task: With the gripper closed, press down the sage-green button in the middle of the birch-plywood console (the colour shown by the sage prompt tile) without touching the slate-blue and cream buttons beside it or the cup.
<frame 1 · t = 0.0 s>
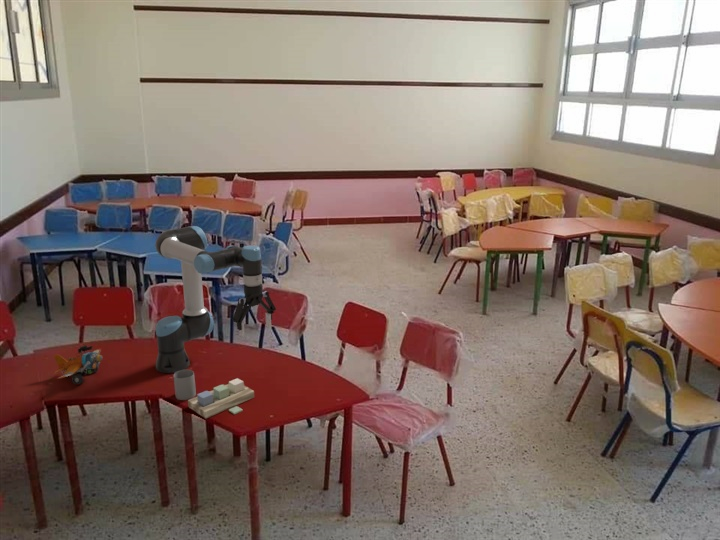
hand: (255, 332, 242), 28 cm above the table, fingers open, 13 cm apart
prompt tile: (235, 410, 235), on the table
toy airplane: (80, 378, 262), on the table
cup: (185, 395, 248), on the table
console: (221, 402, 242), on the table
button cream: (236, 386, 246), point 4 cm above the table, slide at 0.0 cm
button sage: (221, 392, 241), point 4 cm above the table, slide at 0.0 cm
button blue: (205, 399, 236), point 4 cm above the table, slide at 0.0 cm
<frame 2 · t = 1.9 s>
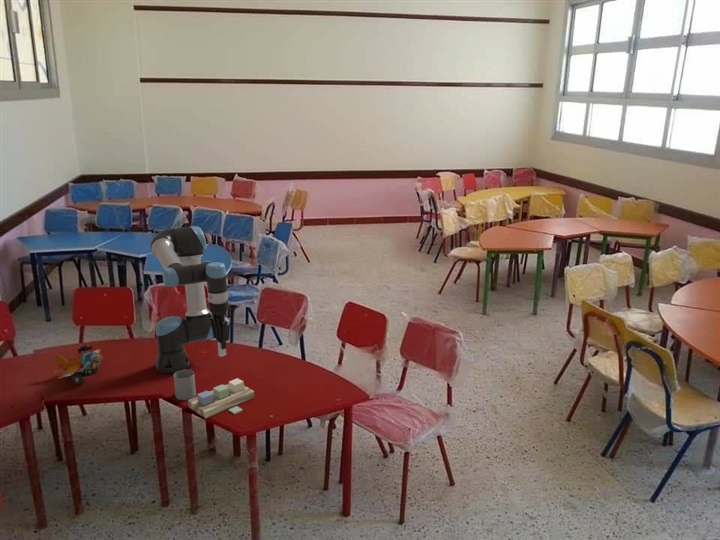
hand: (222, 355, 239), 20 cm above the table, fingers closed
nothing on the table moved.
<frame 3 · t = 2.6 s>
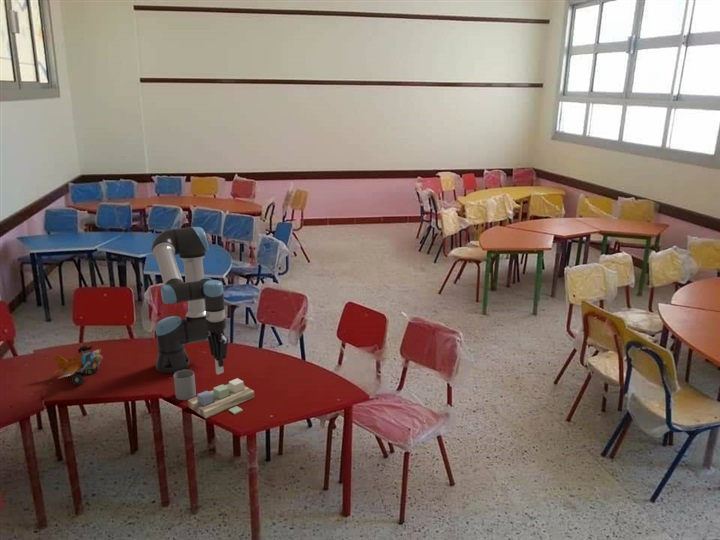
hand: (219, 372, 238), 14 cm above the table, fingers closed
nothing on the table moved.
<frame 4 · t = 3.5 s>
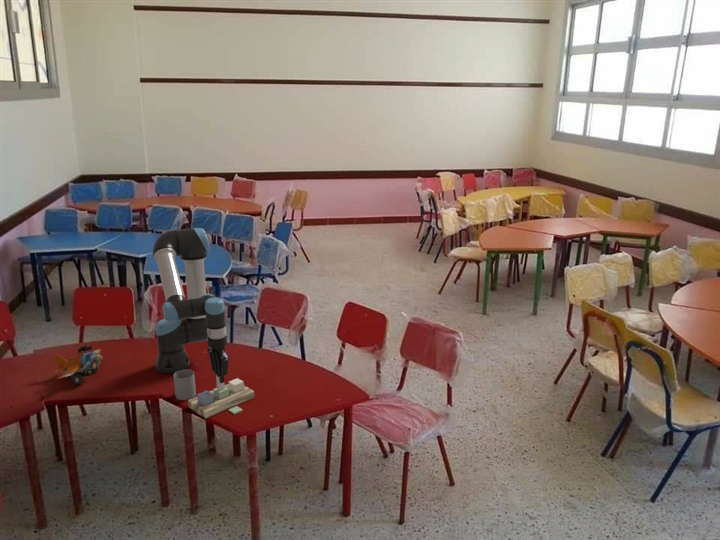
hand: (221, 388, 240), 6 cm above the table, fingers closed
button sage: (221, 393, 241), point 4 cm above the table, slide at -0.6 cm, touching gripper
everything else where it was.
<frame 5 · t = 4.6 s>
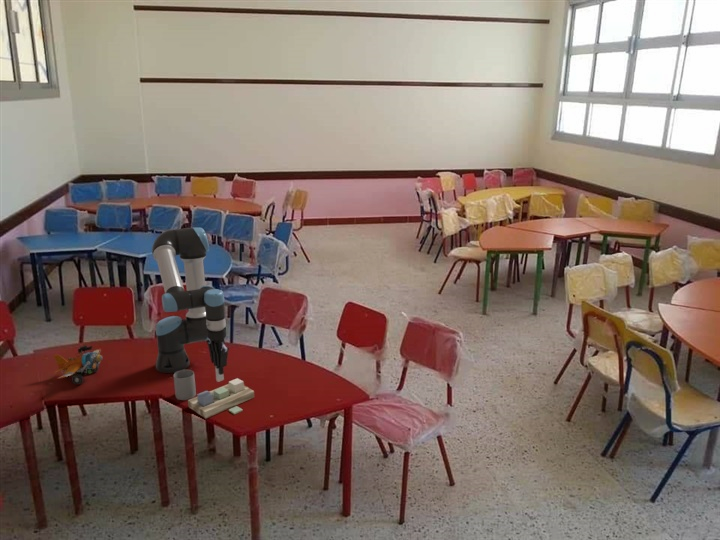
hand: (220, 380, 240), 10 cm above the table, fingers closed
button sage: (221, 395, 241), point 3 cm above the table, slide at -1.2 cm
everything else where it was.
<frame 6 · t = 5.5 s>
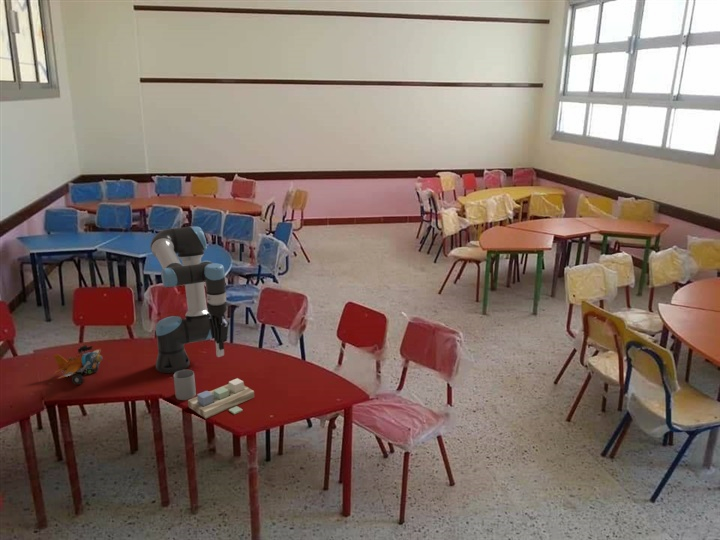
hand: (220, 355, 239), 20 cm above the table, fingers closed
nothing on the table moved.
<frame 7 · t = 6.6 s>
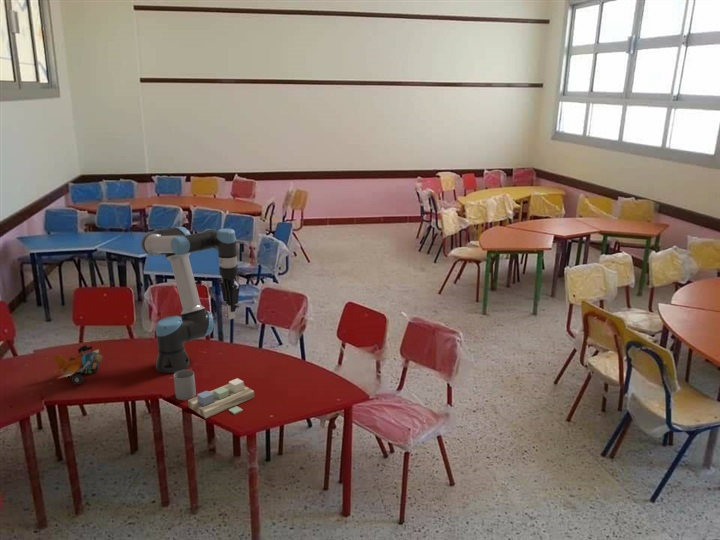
hand: (231, 318, 250), 30 cm above the table, fingers closed
nothing on the table moved.
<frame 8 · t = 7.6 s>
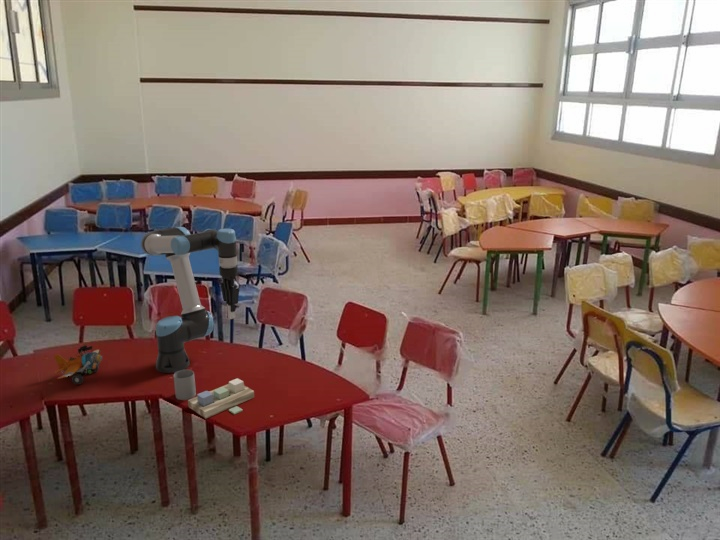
hand: (231, 318, 250), 30 cm above the table, fingers closed
nothing on the table moved.
at the end: button sage slide at -1.2 cm; button blue slide at 0.0 cm; button cream slide at 0.0 cm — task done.
